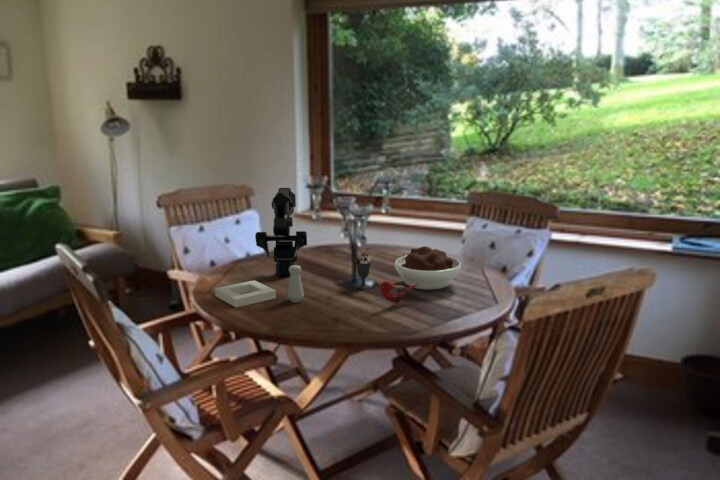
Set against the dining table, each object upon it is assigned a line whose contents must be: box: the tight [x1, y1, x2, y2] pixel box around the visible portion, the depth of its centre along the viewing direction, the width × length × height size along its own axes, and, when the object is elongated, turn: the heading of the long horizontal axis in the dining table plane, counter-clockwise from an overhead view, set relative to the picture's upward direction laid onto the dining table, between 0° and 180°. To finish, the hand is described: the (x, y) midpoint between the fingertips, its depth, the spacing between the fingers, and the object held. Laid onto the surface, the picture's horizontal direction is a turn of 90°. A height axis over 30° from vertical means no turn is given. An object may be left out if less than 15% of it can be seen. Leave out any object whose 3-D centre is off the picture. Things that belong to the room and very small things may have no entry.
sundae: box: [354, 248, 373, 290], centre depth 244 cm, size 7×7×15 cm
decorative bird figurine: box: [379, 280, 418, 308], centre depth 225 cm, size 3×18×10 cm, turn 127°
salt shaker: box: [287, 264, 305, 304], centre depth 229 cm, size 6×6×13 cm
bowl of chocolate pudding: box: [394, 245, 462, 291], centre depth 246 cm, size 25×25×15 cm
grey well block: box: [214, 279, 277, 308], centre depth 235 cm, size 16×16×3 cm
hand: (281, 257), depth 234 cm, fingers open, 9 cm apart
